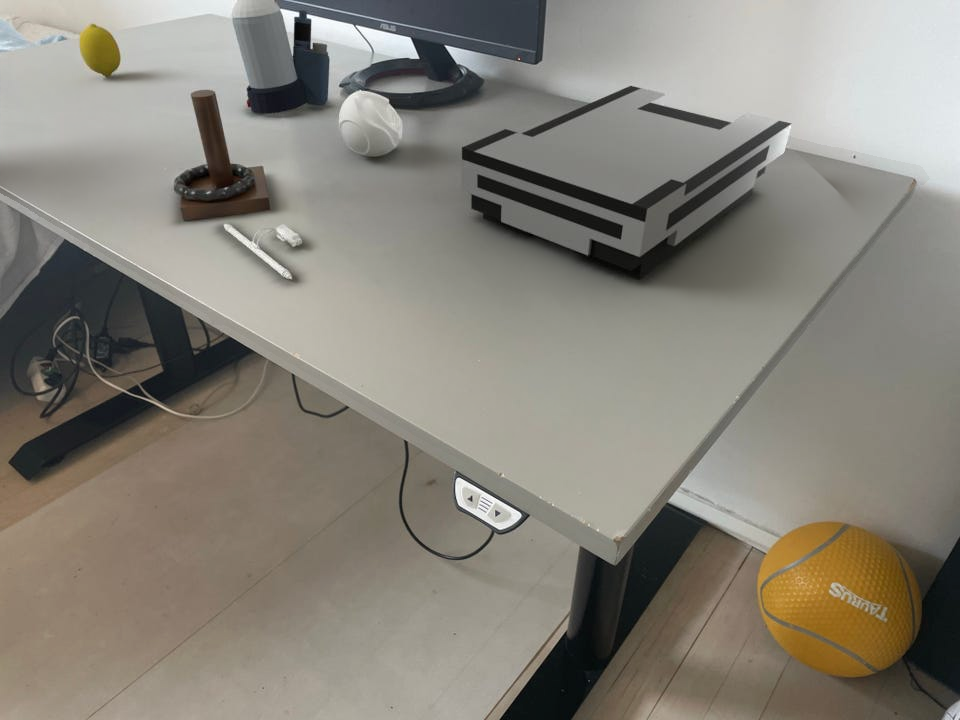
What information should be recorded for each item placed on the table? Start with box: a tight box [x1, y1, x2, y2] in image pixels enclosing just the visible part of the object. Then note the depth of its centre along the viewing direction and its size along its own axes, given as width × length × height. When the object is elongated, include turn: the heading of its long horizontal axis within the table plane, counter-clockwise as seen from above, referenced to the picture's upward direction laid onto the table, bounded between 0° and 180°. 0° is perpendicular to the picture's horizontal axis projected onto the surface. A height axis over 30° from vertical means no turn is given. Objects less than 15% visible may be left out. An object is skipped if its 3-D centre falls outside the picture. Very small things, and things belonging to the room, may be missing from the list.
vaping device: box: [292, 9, 331, 107], centre depth 102 cm, size 3×5×12 cm, turn 81°
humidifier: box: [231, 0, 307, 115], centre depth 96 cm, size 8×8×25 cm
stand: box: [179, 89, 272, 222], centre depth 76 cm, size 9×9×12 cm
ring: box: [173, 162, 255, 202], centre depth 78 cm, size 8×8×1 cm
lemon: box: [78, 23, 121, 78], centre depth 113 cm, size 6×6×8 cm
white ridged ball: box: [338, 90, 403, 158], centre depth 88 cm, size 8×8×8 cm
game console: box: [461, 85, 793, 281], centre depth 77 cm, size 21×32×8 cm, turn 139°
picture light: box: [223, 223, 303, 280], centre depth 70 cm, size 14×4×2 cm, turn 41°
